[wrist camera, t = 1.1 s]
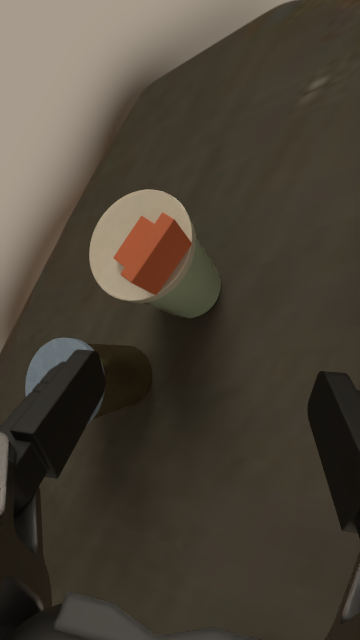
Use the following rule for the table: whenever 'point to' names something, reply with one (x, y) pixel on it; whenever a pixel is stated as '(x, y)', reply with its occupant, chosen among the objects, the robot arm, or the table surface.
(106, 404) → the blue-grey lidded canister
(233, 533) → the table surface
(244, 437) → the table surface
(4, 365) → the table surface
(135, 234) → the block
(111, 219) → the sage cup
